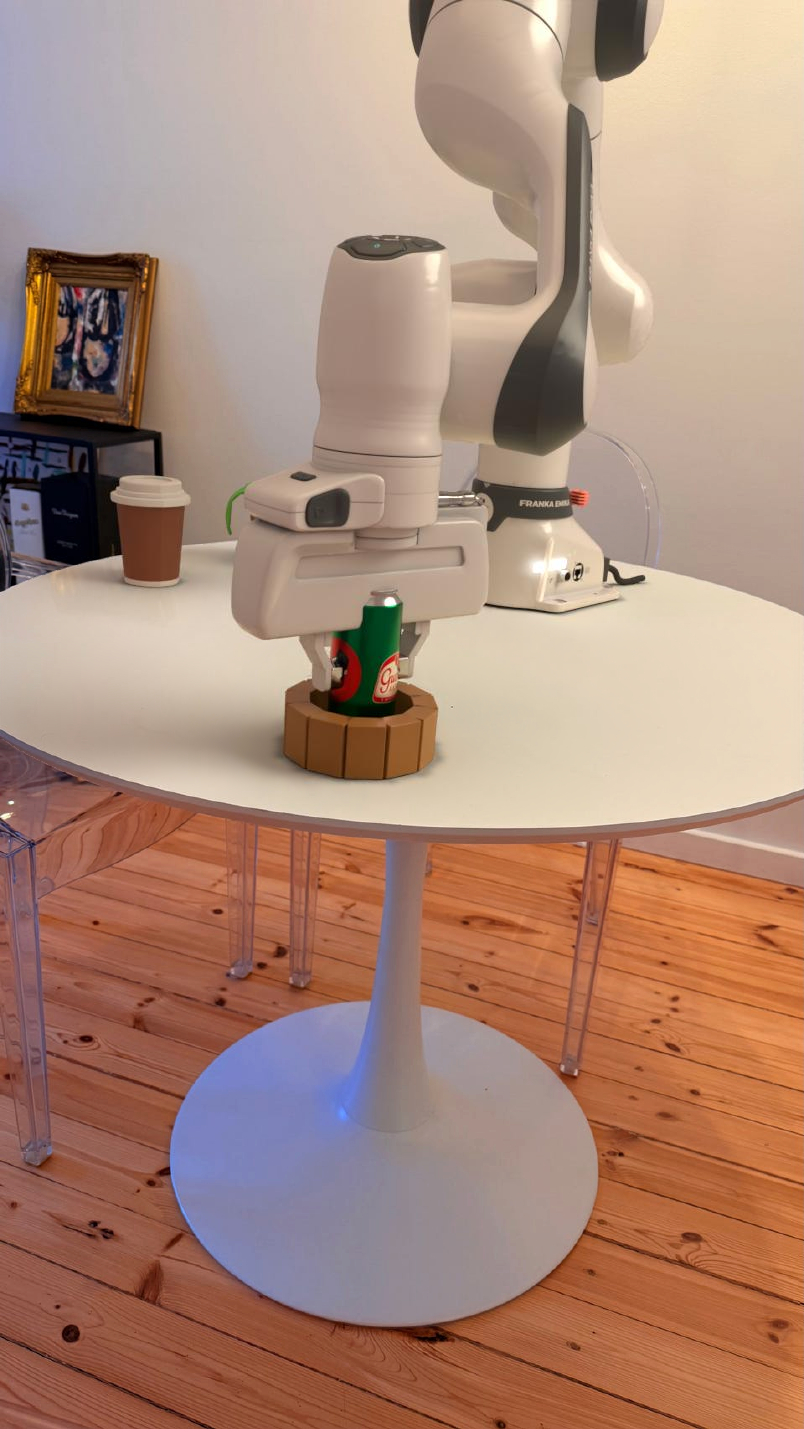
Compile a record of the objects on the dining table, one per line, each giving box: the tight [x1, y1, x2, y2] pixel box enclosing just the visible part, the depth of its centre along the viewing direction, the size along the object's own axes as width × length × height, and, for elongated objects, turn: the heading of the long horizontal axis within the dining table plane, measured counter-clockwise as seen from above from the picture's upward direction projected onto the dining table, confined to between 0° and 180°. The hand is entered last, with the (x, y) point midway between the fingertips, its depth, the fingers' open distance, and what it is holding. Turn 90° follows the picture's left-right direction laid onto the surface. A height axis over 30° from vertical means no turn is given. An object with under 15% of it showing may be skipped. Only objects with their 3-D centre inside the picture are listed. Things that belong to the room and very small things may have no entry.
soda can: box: [327, 589, 403, 718], centre depth 72 cm, size 5×5×12 cm
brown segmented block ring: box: [283, 678, 439, 780], centre depth 74 cm, size 11×11×4 cm
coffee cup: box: [110, 474, 192, 588], centre depth 117 cm, size 9×9×12 cm
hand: (362, 682), depth 73 cm, fingers closed on soda can, 5 cm apart
